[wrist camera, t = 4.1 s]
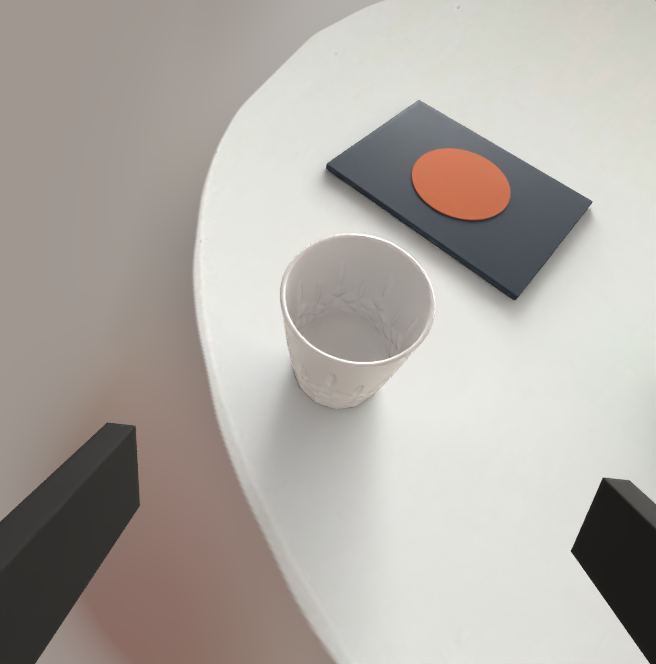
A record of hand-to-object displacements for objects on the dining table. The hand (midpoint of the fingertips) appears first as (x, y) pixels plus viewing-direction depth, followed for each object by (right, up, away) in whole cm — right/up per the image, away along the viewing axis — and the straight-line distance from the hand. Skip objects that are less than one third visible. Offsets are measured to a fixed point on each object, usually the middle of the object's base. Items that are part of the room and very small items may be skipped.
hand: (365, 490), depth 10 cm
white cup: (0, +2, +17) cm, 17 cm away
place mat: (+12, +19, +26) cm, 35 cm away
